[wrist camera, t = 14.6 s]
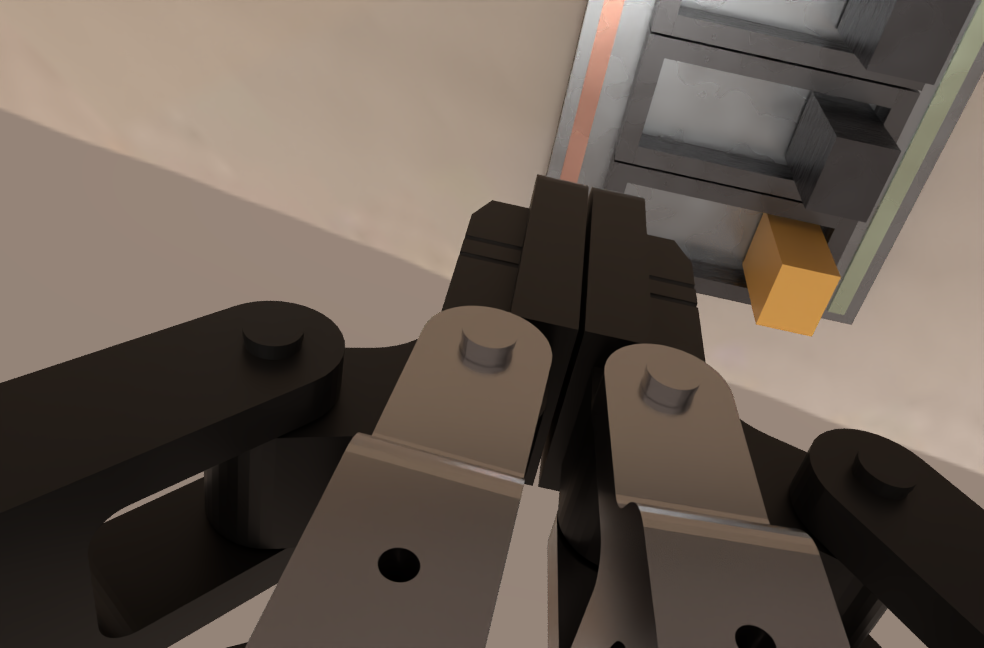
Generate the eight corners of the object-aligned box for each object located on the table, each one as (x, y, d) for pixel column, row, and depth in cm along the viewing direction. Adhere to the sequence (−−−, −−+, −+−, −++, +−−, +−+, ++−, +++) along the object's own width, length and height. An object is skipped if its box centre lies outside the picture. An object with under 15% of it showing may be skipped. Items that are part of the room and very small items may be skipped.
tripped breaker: (742, 264, 40) (756, 324, 36) (765, 208, 38) (782, 264, 34) (792, 275, 40) (811, 336, 36) (817, 219, 38) (840, 277, 34)
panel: (531, 238, 43) (518, 312, 37) (628, -170, 32) (629, -152, 27) (844, 307, 43) (877, 391, 37) (1041, -79, 32) (1127, -42, 27)
